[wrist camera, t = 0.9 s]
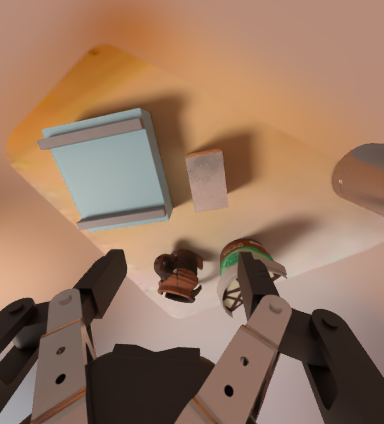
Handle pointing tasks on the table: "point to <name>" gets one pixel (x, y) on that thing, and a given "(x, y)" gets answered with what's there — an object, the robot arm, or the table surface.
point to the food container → (228, 268)
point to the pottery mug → (179, 275)
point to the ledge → (112, 169)
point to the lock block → (207, 180)
